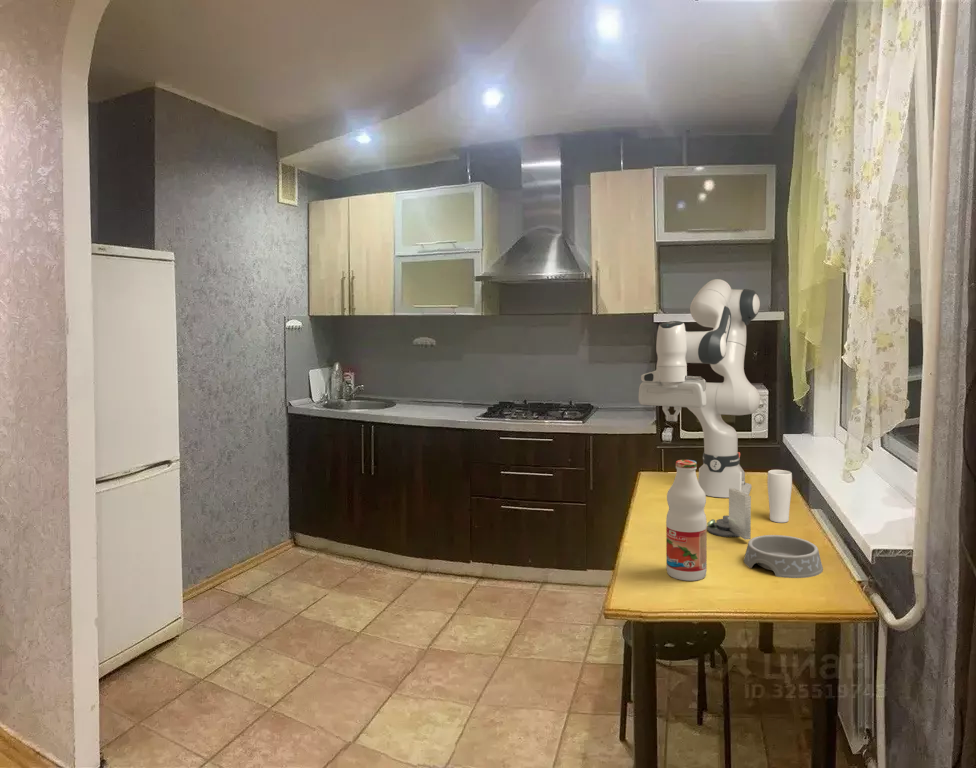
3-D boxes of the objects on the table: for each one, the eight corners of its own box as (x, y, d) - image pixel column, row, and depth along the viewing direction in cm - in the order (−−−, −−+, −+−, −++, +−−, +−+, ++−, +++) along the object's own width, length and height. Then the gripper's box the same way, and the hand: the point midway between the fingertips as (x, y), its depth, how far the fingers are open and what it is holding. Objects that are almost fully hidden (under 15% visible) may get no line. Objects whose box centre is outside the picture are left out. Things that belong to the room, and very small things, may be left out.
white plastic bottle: (715, 577, 162) (715, 462, 159) (683, 584, 158) (683, 467, 155) (688, 564, 170) (688, 456, 168) (658, 571, 167) (657, 460, 164)
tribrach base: (714, 523, 203) (714, 515, 203) (752, 529, 197) (752, 521, 197) (701, 533, 195) (701, 525, 194) (740, 539, 188) (740, 531, 188)
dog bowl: (799, 585, 157) (799, 562, 156) (729, 563, 172) (730, 542, 171) (836, 567, 167) (836, 546, 166) (767, 548, 181) (767, 529, 181)
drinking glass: (795, 523, 201) (796, 474, 199) (772, 524, 201) (773, 475, 199) (785, 517, 207) (786, 469, 206) (763, 517, 207) (763, 469, 206)
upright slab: (712, 524, 198) (712, 484, 197) (731, 523, 199) (731, 483, 198) (737, 540, 184) (737, 497, 183) (758, 538, 185) (758, 495, 184)
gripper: (709, 375, 199) (709, 421, 200) (644, 373, 211) (644, 417, 212) (702, 377, 194) (702, 424, 195) (636, 375, 206) (636, 420, 207)
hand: (671, 421), depth 204 cm, fingers closed
